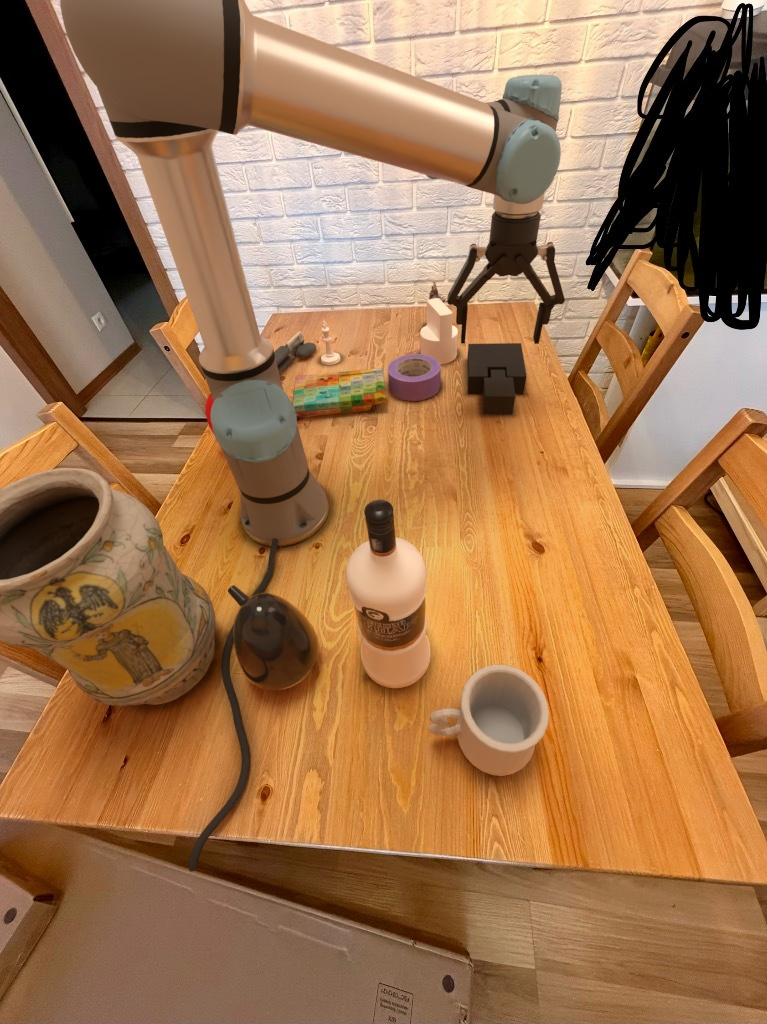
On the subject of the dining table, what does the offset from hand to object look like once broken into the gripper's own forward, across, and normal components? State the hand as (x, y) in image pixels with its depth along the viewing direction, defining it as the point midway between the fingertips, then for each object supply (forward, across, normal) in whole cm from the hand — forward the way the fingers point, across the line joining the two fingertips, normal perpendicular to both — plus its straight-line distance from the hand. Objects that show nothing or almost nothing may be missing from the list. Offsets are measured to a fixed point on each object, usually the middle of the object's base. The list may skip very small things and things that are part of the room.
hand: (499, 340), depth 88 cm
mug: (+16, -4, -67) cm, 69 cm away
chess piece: (+15, -39, +19) cm, 46 cm away
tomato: (+16, -51, -13) cm, 55 cm away
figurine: (+15, -13, +34) cm, 39 cm away
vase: (+16, -47, -61) cm, 78 cm away
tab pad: (+15, +1, +2) cm, 15 cm away
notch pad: (+15, +1, +11) cm, 19 cm away
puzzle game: (+16, -33, +1) cm, 36 cm away
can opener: (+16, -49, +16) cm, 54 cm away
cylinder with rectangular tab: (+15, -12, +21) cm, 28 cm away
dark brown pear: (+16, -30, -60) cm, 69 cm away
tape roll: (+15, -17, +7) cm, 24 cm away
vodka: (+16, -15, -58) cm, 62 cm away
